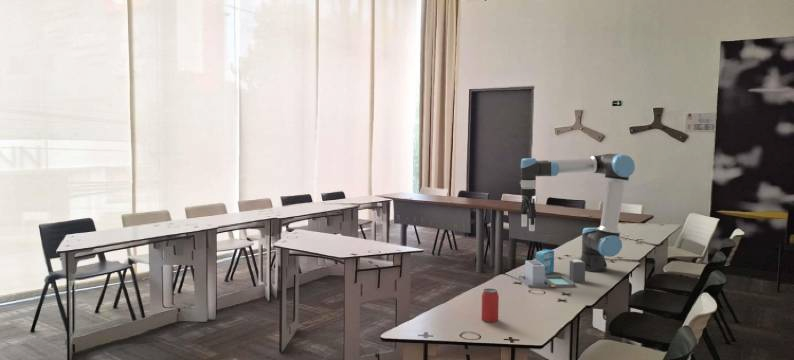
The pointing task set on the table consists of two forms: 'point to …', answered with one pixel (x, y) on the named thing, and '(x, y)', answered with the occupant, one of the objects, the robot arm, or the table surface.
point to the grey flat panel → (550, 282)
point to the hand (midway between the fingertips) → (528, 228)
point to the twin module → (534, 272)
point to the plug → (577, 271)
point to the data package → (546, 259)
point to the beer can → (490, 305)
